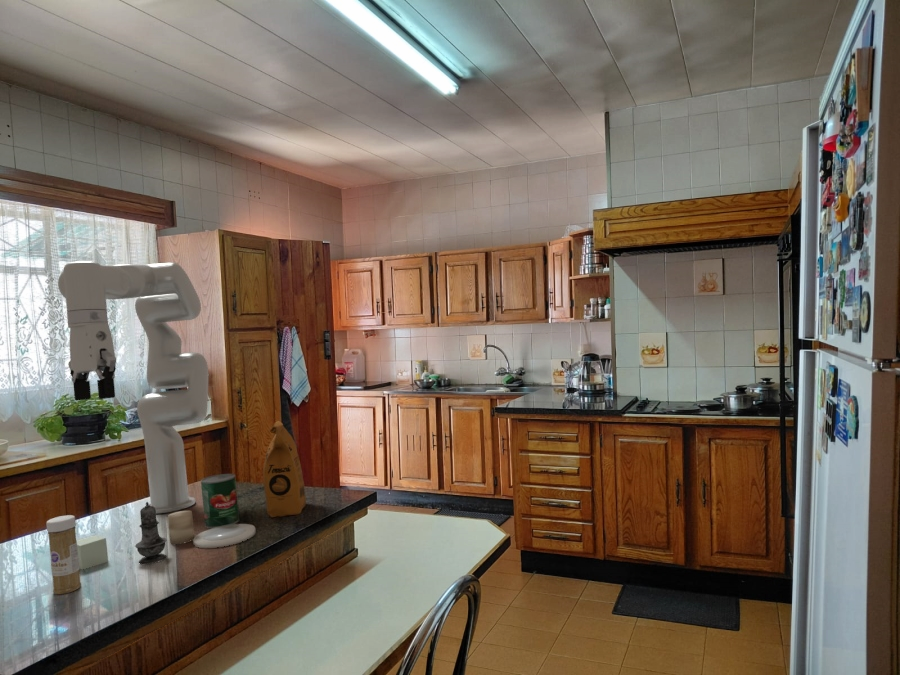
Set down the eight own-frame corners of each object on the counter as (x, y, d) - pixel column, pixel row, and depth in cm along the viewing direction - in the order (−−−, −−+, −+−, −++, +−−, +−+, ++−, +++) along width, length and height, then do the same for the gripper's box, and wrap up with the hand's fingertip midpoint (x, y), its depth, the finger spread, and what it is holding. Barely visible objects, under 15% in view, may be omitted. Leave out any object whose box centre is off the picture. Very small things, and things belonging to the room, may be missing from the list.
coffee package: (261, 520, 152) (252, 429, 152) (269, 506, 164) (261, 422, 164) (303, 515, 153) (294, 424, 153) (308, 501, 166) (300, 418, 165)
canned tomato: (225, 528, 148) (220, 482, 148) (197, 528, 150) (193, 482, 150) (246, 518, 155) (241, 473, 155) (219, 517, 158) (215, 473, 158)
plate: (189, 538, 143) (188, 533, 143) (247, 524, 150) (247, 519, 150) (199, 553, 132) (198, 547, 132) (262, 537, 138) (261, 532, 138)
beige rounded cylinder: (168, 540, 142) (166, 514, 142) (192, 535, 145) (189, 509, 145) (171, 546, 138) (169, 519, 138) (196, 540, 141) (193, 513, 141)
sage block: (72, 566, 131) (70, 542, 131) (98, 557, 135) (95, 534, 135) (82, 570, 128) (80, 545, 128) (108, 561, 132) (105, 538, 132)
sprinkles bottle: (47, 596, 115) (40, 522, 115) (63, 585, 120) (56, 515, 120) (72, 594, 115) (65, 520, 115) (87, 583, 120) (80, 513, 119)
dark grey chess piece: (138, 558, 132) (132, 501, 132) (169, 552, 134) (163, 496, 134) (135, 567, 127) (129, 507, 126) (167, 561, 129) (161, 502, 128)
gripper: (127, 315, 135) (134, 395, 135) (84, 323, 144) (91, 398, 144) (91, 315, 128) (98, 400, 128) (49, 324, 138) (56, 402, 138)
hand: (94, 398), depth 136 cm, fingers open, 9 cm apart
